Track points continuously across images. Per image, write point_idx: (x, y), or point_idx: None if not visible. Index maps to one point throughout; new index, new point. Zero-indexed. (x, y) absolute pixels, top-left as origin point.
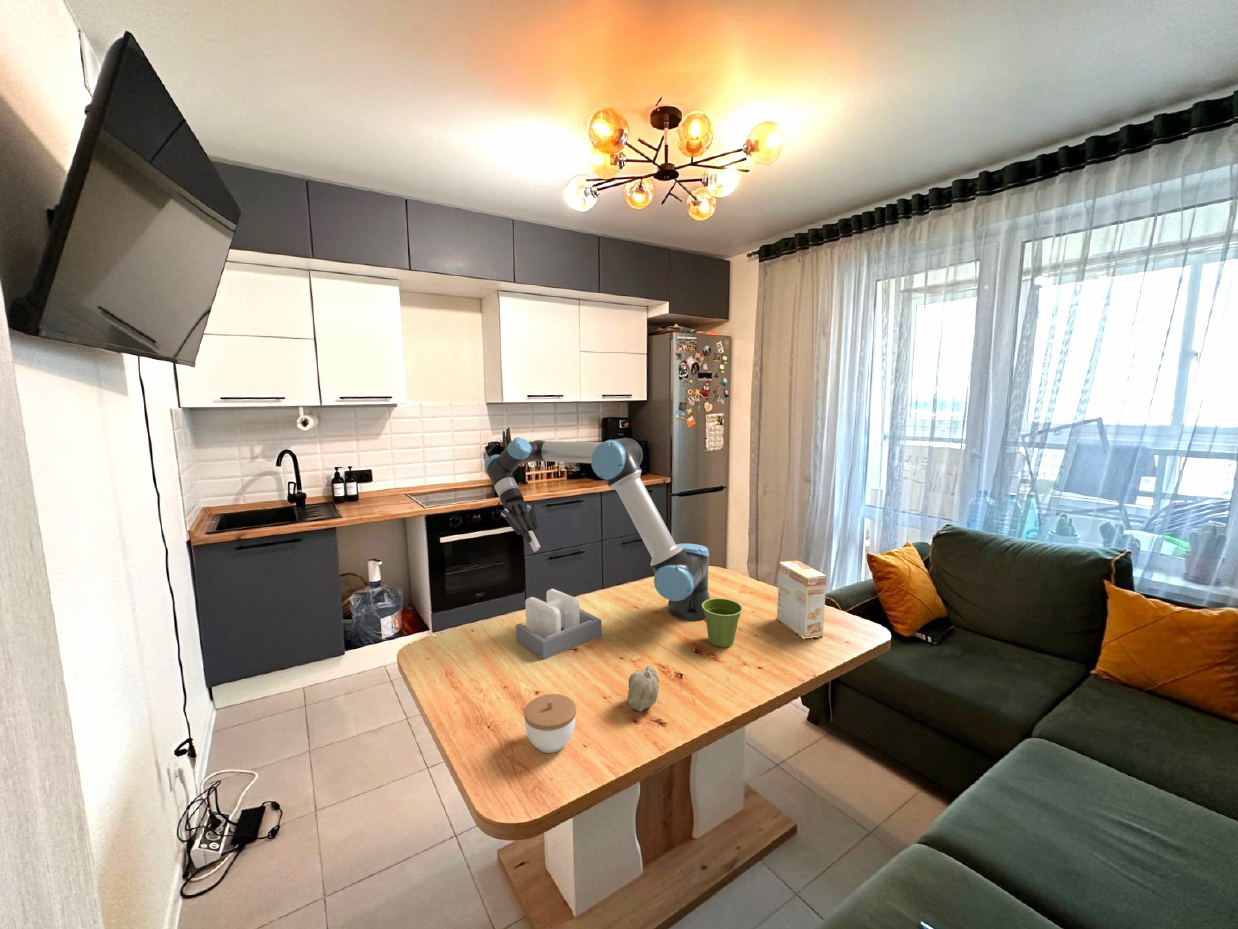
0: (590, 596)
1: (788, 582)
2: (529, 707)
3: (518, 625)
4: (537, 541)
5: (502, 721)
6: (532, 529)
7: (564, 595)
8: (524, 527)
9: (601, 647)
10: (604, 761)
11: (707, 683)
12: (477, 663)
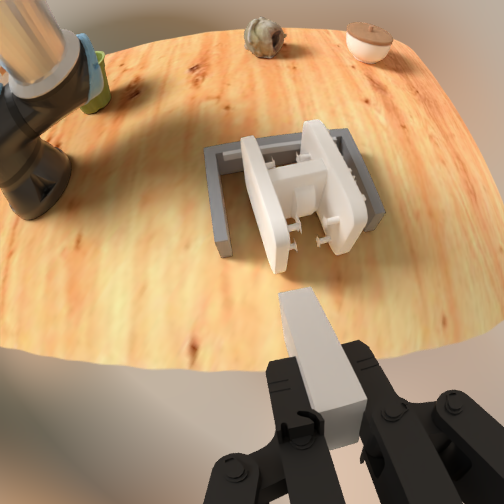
0: (112, 357)
1: (5, 80)
2: (388, 38)
3: (381, 206)
4: (291, 319)
5: (405, 90)
6: (316, 418)
7: (262, 164)
8: (414, 440)
9: (235, 138)
10: (329, 35)
11: (183, 56)
12: (440, 194)
